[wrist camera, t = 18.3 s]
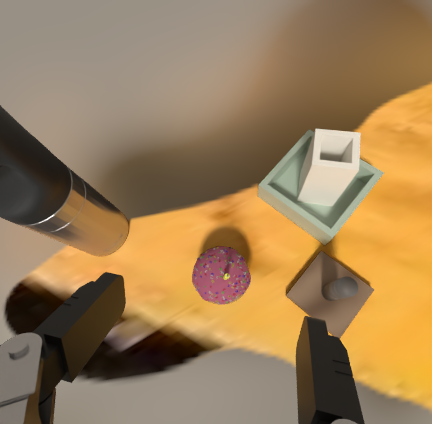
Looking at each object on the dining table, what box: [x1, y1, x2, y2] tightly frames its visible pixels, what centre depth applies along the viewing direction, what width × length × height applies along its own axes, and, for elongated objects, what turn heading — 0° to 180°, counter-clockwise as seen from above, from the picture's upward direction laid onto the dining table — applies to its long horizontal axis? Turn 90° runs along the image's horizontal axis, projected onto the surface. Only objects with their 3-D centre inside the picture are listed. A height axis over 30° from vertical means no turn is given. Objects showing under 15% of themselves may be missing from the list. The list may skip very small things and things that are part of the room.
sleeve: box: [297, 129, 360, 206], centre depth 42 cm, size 6×6×12 cm
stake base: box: [286, 251, 374, 339], centre depth 37 cm, size 9×9×9 cm
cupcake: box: [192, 246, 251, 304], centre depth 39 cm, size 9×8×12 cm
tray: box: [258, 130, 384, 245], centre depth 46 cm, size 14×14×4 cm
